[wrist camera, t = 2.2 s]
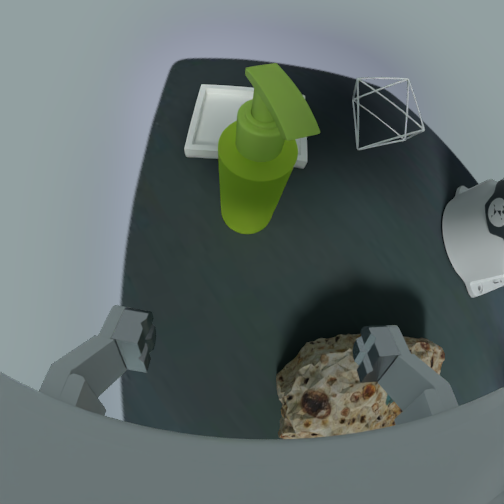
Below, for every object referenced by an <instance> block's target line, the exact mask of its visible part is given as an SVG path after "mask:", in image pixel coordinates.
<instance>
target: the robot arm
mask: <svg viewBox="0 0 504 504" xmlns="http://www.w3.org/2000/svg"><path fill="white" fill-rule="evenodd" d="M442 230H443V238H444V244H445V248H446V251H447V254H448V257H449V259H450V261H451V264H452V266H453V267H454V269H455V271H456V272H457V273H458V275H459V276H460V277H461V278H462V279H463V281H464V282H465V285H466V288H467V290H468V293H469V295H470V296H471V297H472V298H473V297H477V296H479V295H482V294H485V293H487V292H489V291H492V290H494V289H497V288H499V287H501V286H504V179H502V180H500V181H499V182H496V181H494V180H493V179H489V180H486V181H484V182H482V183H480V184H478V185H476V186H474V187H472V188H470V189H468V188H466V187H465V186H460V187H458V188H457V191H456V194H455V197H454V198H453V199H452V200H451V201H450V202H449V203H448V204H447V206H446V208H445V210H444V214H443V221H442ZM152 321H153V314H152V312H151V311H145V310H140V309H134V308H129V307H123V306H118V305H115V306H113V307H112V309H111V311H110V313H109V315H108V317H107V319H106V321H105V323H104V325H103V327H102V329H101V331H100V333H99V335H98V336H96V335H95V336H93V337H92V338H90V339H89V340H87V341H86V342H84V343H83V344H81V345H80V346H78V347H77V348H75V349H74V350H72V351H71V352H69V353H68V354H66V355H65V356H63V357H62V358H60V359H59V360H58V361H56V362H54V363H53V364H51V366H50V368H49V371H48V372H47V375H46V377H45V379H44V381H43V383H42V386H41V388H40V390H39V391H37V390H35V389H33V388H30V387H29V386H27V385H24V384H22V383H20V382H19V381H16V380H15V379H13V378H11V377H9V376H7V375H5V374H3V373H2V372H0V504H504V387H503V388H500V389H498V390H496V391H494V392H492V393H490V394H487V395H485V396H483V397H481V398H478V399H476V400H473V401H471V402H469V403H466V404H463V405H461V406H458V403H457V401H456V398H455V396H454V393H453V391H452V389H451V386H450V384H449V383H448V382H447V381H446V380H445V379H443V378H442V377H441V376H440V375H439V374H437V373H436V372H435V371H434V370H433V369H431V368H430V367H429V366H428V365H427V364H425V363H424V362H423V361H422V360H421V359H419V358H418V357H417V356H416V355H414V354H411V353H410V351H409V348H408V346H407V344H406V342H405V340H404V338H403V336H402V333H401V331H400V329H399V327H398V326H397V325H386V326H385V325H380V326H364V327H363V328H362V330H361V332H360V333H361V336H360V337H359V338H358V339H356V341H355V343H354V345H353V350H352V353H353V359H354V361H355V362H356V363H357V364H358V365H359V366H358V368H357V373H358V376H359V380H360V383H365V382H378V384H379V385H380V386H381V387H382V388H383V389H384V390H385V392H386V393H387V394H388V395H389V396H390V397H391V398H392V400H393V401H394V402H395V403H396V404H397V405H398V406H399V408H400V409H401V410H402V411H403V412H401V413H400V414H399V415H398V416H397V417H396V418H395V420H394V421H395V425H394V426H390V427H385V428H380V429H375V430H370V431H364V432H358V433H351V434H344V435H336V436H326V437H315V438H301V439H237V438H222V437H211V436H201V435H193V434H186V433H179V432H173V431H167V430H161V429H156V428H151V427H146V426H142V425H137V424H133V423H129V422H125V421H121V420H118V419H114V418H110V417H107V416H105V412H106V409H105V408H104V406H103V405H102V403H101V402H100V401H99V399H98V397H99V396H100V395H101V394H102V393H103V392H104V391H105V390H106V389H107V388H108V387H109V386H110V385H111V384H112V383H113V382H115V381H116V380H117V379H118V378H119V377H120V376H121V375H122V374H123V373H124V372H125V371H126V369H129V370H135V371H140V372H146V373H147V370H148V367H149V363H150V360H151V357H150V354H149V353H150V352H151V351H152V350H154V346H155V341H156V329H155V326H154V325H153V324H152Z"/></svg>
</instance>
